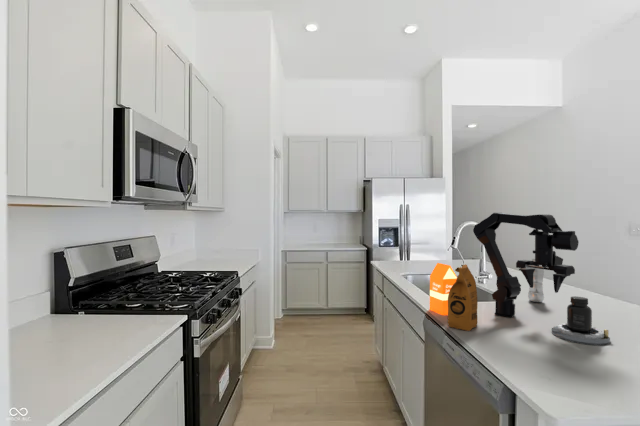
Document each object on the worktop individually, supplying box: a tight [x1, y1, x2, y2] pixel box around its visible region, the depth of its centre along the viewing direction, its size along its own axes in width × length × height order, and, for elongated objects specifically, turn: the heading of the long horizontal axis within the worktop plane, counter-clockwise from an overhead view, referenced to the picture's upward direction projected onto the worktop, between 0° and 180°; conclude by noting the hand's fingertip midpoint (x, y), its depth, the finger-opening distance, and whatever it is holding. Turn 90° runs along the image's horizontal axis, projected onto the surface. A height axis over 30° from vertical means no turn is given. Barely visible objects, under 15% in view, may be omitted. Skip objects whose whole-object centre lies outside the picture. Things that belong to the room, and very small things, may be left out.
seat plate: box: [551, 322, 611, 346], centre depth 121 cm, size 16×16×4 cm
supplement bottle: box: [566, 296, 593, 334], centre depth 121 cm, size 7×7×12 cm
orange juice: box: [429, 262, 458, 316], centre depth 151 cm, size 8×9×20 cm
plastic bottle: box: [527, 258, 545, 303], centre depth 168 cm, size 6×7×20 cm
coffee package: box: [447, 264, 479, 332], centre depth 132 cm, size 10×12×22 cm
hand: (543, 290), depth 133 cm, fingers open, 9 cm apart
